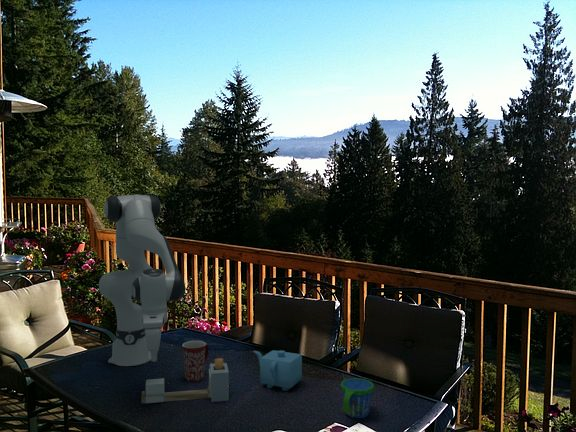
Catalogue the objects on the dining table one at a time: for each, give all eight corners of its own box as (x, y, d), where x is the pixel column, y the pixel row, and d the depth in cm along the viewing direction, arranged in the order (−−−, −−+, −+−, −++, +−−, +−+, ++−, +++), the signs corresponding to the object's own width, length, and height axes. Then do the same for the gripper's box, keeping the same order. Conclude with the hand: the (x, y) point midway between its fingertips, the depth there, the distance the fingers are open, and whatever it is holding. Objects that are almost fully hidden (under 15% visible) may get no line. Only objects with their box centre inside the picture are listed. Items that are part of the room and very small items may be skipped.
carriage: (146, 397, 184) (146, 379, 184) (164, 396, 186) (164, 378, 185) (145, 403, 179) (145, 384, 179) (164, 401, 181) (163, 383, 180)
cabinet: (208, 390, 191) (208, 363, 190) (226, 389, 192) (226, 362, 192) (210, 402, 181) (210, 373, 181) (228, 400, 182) (228, 372, 182)
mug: (195, 384, 197) (195, 349, 196) (177, 379, 202) (177, 345, 201) (217, 374, 208) (216, 340, 207) (199, 369, 213) (199, 336, 212)
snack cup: (357, 427, 162) (358, 395, 162) (329, 417, 169) (329, 386, 169) (383, 411, 174) (383, 380, 174) (356, 402, 181) (356, 373, 180)
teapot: (304, 380, 201) (304, 347, 200) (287, 395, 187) (287, 359, 186) (262, 373, 209) (262, 341, 208) (243, 387, 194) (242, 353, 194)
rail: (142, 399, 183) (142, 391, 183) (210, 394, 188) (210, 386, 187) (141, 403, 180) (141, 394, 180) (210, 397, 185) (210, 389, 185)
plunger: (214, 372, 187) (214, 358, 187) (223, 371, 188) (222, 357, 188) (215, 375, 185) (214, 361, 184) (223, 374, 185) (223, 360, 185)
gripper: (146, 310, 190) (147, 348, 191) (142, 324, 170) (143, 366, 171) (164, 309, 191) (165, 347, 192) (162, 323, 171) (163, 365, 172)
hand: (155, 356), depth 181 cm, fingers open, 8 cm apart
